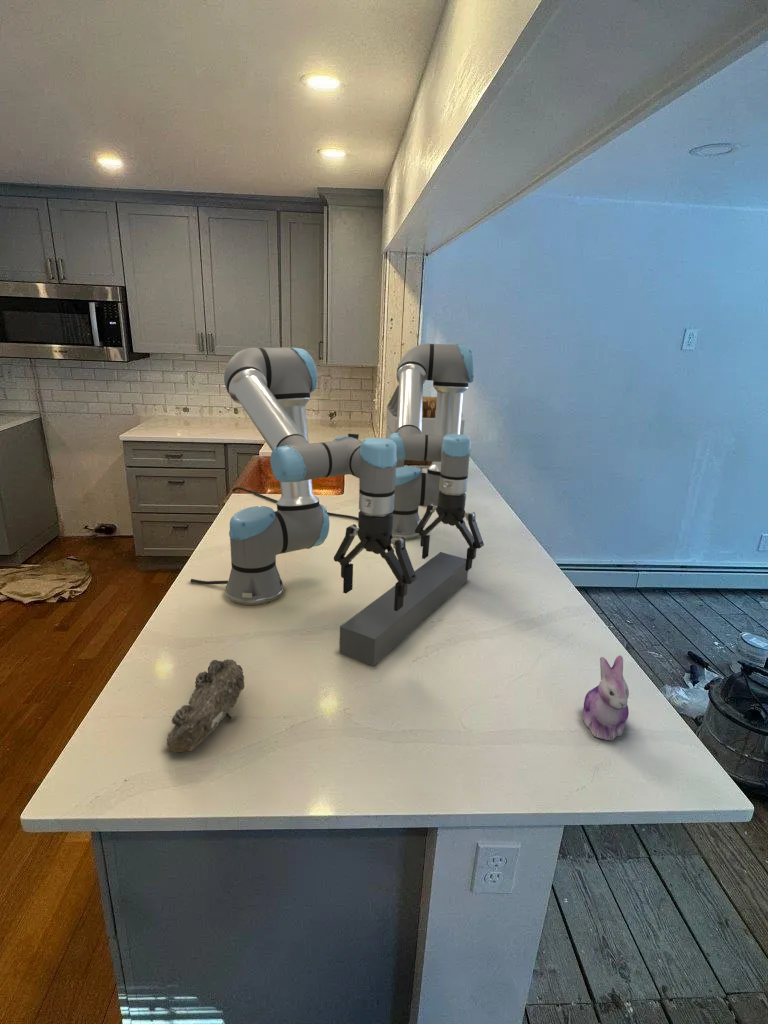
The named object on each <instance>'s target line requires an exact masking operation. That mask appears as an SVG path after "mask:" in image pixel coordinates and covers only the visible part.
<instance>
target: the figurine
mask: <svg viewBox="0 0 768 1024" xmlns="http://www.w3.org/2000/svg"><path fill="white" fill-rule="evenodd" d="M599 666H600V667H599V669H600V681H599V684H598V685H597V686H595V687H593V688H592V689H590V690H589V691H588V692H586V694H585V697H584V701H583V708H582V714H581V715H582V719H583V722H584V725H585V726H586V727H587V728H588V729H589V731H590V732H591V734H592V735H593V736H594V737H596V738H598V739H601V740H606V741H614V739H616V737H620V736H622V734H623V732H624V728H625V725H626V722H627V721H628V718H629V713H630V709H629V705H628V699H629V695H630V691H629V686H628V683H627V682H626V680H625V678H624V658H623V656H622V655H621V654H620V655H617V656H616V658H615V659H614V662H613V664H612V666H611V665H610V664H609V662H608V660H607V659H606V658H605V656H600V657H599Z"/></svg>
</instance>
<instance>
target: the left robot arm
mask: <svg viewBox="0 0 768 1024" xmlns="http://www.w3.org/2000/svg"><path fill="white" fill-rule="evenodd" d="M223 374H224V376H223V381H224V386H225V389H226V392H227V393H228V395H229V396H230V398H231V399H232V400H233V402H235V403H237V404H238V405H241V406H242V408H243V410H244V411H245V413H246V414H247V416H248V417H249V419H250V420H251V422H252V423H253V425H254V426H255V427H256V429H257V430H258V432H259V433H260V435H261V437H262V438H263V439H264V441H265V442H266V444H267V446H268V447H269V449H270V450H271V453H270V458H269V459H270V461H269V462H270V468H271V470H272V474H273V477H274V478H275V479H276V480H277V481H278V482H279V484H280V485H279V486H280V494H281V495H280V498H279V499H278V500H277V501H278V502H277V503H276V510H274V509H273V508H272V507H270V506H265V505H262V506H258V505H256V506H250V507H245V508H242V509H240V510H238V511H237V512H236V513H234V514H233V515H232V516H231V518H230V520H229V531H228V536H229V543H230V545H229V547H230V562H231V568H230V569H231V570H230V573H229V577H228V580H201V579H195V578H191V579H190V583H194V584H200V585H226V586H225V596H226V598H227V599H228V600H229V601H230V602H232V603H234V604H237V605H241V606H248V607H249V606H251V607H253V606H262V605H267V604H271V603H272V602H275V601H276V600H278V599H280V597H282V595H283V593H284V583H283V579H282V577H281V575H280V573H279V570H278V567H277V556H278V555H281V554H286V553H291V552H296V551H301V550H310V549H312V548H314V547H318V546H321V545H322V544H324V543H325V541H326V540H327V538H328V536H329V532H330V515H328V514H327V512H328V510H327V508H326V507H325V505H323V504H321V503H320V499H319V498H318V497H317V496H316V495H315V494H314V490H313V480H317V479H324V478H331V477H339V476H346V475H351V476H354V477H355V478H357V479H358V482H359V485H358V486H359V487H358V488H359V489H358V510H359V511H358V520H357V524H354V523H353V524H351V525H348V526H347V527H346V528H345V535H344V537H343V539H342V541H341V543H340V544H339V547H338V548H337V551H336V553H335V554H334V556H333V561H334V562H336V563H337V562H338V563H339V565H340V577H341V578H342V579H343V584H342V585H343V587H342V593H343V594H345V595H346V594H348V593H349V592H351V591H353V589H354V588H353V587H354V586H353V585H354V581H353V580H354V563H351V562H352V561H353V560H354V559H355V558H356V557H357V556H358V555H359V554H360V553H361V552H362V551H363V550H364V549H365V552H369V553H370V552H371V553H373V554H375V555H380V557H381V558H382V559H384V560H385V562H386V564H387V565H388V567H389V569H390V570H391V572H392V574H393V575H394V577H395V579H396V580H397V582H395V585H394V586H395V601H394V610H395V611H398V610H399V609H400V608H402V607H403V599H404V596H406V595H407V589H408V584H411V583H412V582H414V581H415V580H416V579H417V577H416V574H415V572H414V571H415V569H414V567H413V566H414V565H413V564H412V561H411V558H410V555H409V553H408V550H407V546H406V545H407V544H406V540H405V538H404V537H401V538H393V536H392V529H393V516H394V514H393V513H392V512H393V510H394V495H395V492H394V491H395V478H396V463H397V458H396V444H395V442H394V441H392V440H390V439H385V438H384V437H377V436H376V437H367V438H364V439H362V440H359V438H358V439H356V438H353V437H348V435H341V436H338V437H336V438H334V439H333V440H332V441H325V442H323V441H322V442H313V443H312V442H309V431H308V422H307V411H306V408H307V407H306V406H307V404H308V403H309V402H310V400H311V393H312V392H314V391H315V390H316V388H317V385H318V384H317V383H318V371H317V366H316V364H315V361H314V359H313V357H312V356H311V354H310V353H309V352H308V351H307V350H305V349H303V348H300V347H291V346H286V347H248V348H244V349H242V350H239V351H238V352H236V353H235V354H234V355H233V356H232V357H230V359H229V360H228V362H227V364H226V367H225V370H224V373H223ZM356 536H357V538H358V539H359V542H358V543H357V544H356V545H355V547H354V548H353V549H352V550H351V551H350V552H349V553H348V551H349V549H350V547H351V545H352V543H353V541H354V539H355V537H356ZM392 545H393V546H392ZM386 551H387V552H386ZM347 553H348V554H347Z"/></svg>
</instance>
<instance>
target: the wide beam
mask: <svg viewBox="0 0 768 1024" xmlns="http://www.w3.org/2000/svg"><path fill="white" fill-rule="evenodd" d="M465 568H466V557H461V556H458V555H454V554H449V553H446V552H442V551H440V552H438V553H437V554H435V555H434V556H433V557H431V558H430V559H429V560H427V561H426V562H425V563H423V564H422V565H420V566H419V567H418V568H417V569H414V572H415V574H416V577H417V579H416V580H415V581H414V582H412V583H411V584H408V589H407V595H406V596H404V599H403V607H402V608H400V609H399V610H398V611H395V610H394V601H395V585H394V586H392V587H391V588H390V589H388V590H387V591H386V592H384V593H383V594H382V595H380V596H379V597H378V598H376V599H375V600H373V601H372V602H371V603H369V604H368V605H367V606H366V607H364V608H363V609H361V610H360V611H359V612H357V613H356V614H355V615H353V616H352V617H350V619H348V620H346V621H345V622H343V624H341V625H340V626H339V650H338V651H339V652H338V653H339V654H342V655H344V656H346V657H349V658H351V659H354V660H356V661H358V662H361V663H363V664H365V665H366V664H367V665H369V666H371V667H375V666H376V665H377V664H378V663H380V662H381V661H382V660H383V659H384V658H385V657H386V656H387V655H388V654H389V653H391V652H392V651H393V650H394V649H395V648H396V647H397V646H398V645H399V644H401V642H403V641H404V640H405V639H406V638H407V637H408V636H409V635H410V634H411V633H413V632H414V631H415V630H416V628H418V627H419V626H421V624H423V622H425V621H426V620H427V619H428V618H429V617H430V616H431V615H432V614H433V613H434V612H435V611H437V609H439V608H440V607H441V606H442V605H443V604H444V603H445V602H446V601H447V600H449V599H450V597H452V596H453V595H454V594H455V593H456V592H457V591H458V590H459V589H461V587H463V585H465V584H466V583H467V582H468V577H469V570H468V571H466V570H465Z"/></svg>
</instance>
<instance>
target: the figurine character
mask: <svg viewBox="0 0 768 1024" xmlns="http://www.w3.org/2000/svg"><path fill="white" fill-rule="evenodd" d="M347 437H353V438H356V439H358V440H359V437H360V434H359V433H347Z"/></svg>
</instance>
